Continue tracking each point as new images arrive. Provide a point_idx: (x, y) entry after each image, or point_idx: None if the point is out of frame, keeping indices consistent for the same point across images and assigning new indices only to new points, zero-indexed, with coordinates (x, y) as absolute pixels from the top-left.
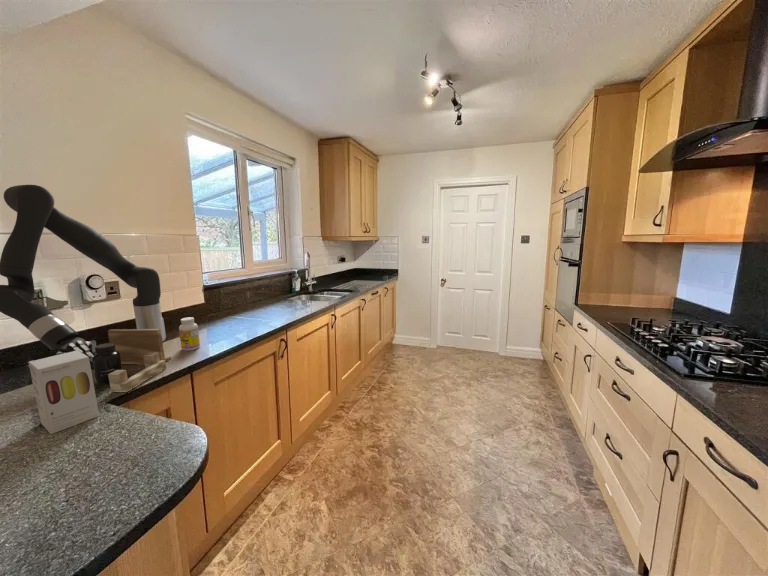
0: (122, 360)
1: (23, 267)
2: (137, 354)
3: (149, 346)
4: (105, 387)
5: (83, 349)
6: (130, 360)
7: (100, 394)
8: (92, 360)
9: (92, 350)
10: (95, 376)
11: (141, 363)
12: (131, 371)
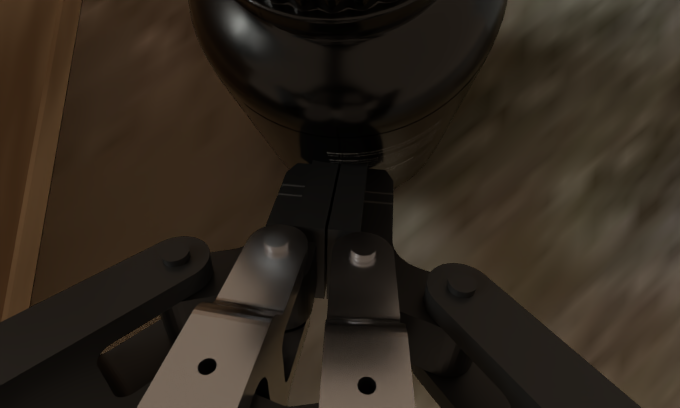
0: (5, 234)
1: None
2: None
3: None
4: None
5: (254, 374)
6: (20, 157)
7: (587, 13)
8: (461, 89)
9: (155, 296)
10: (440, 139)
11: (62, 71)
12: (203, 64)
